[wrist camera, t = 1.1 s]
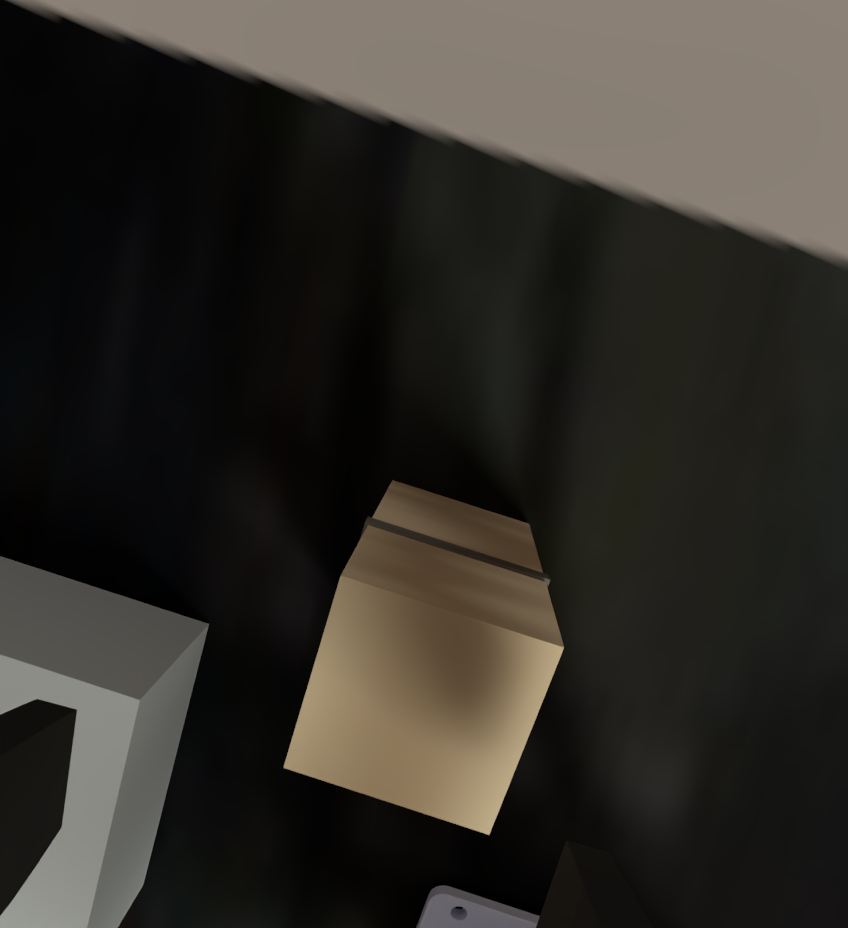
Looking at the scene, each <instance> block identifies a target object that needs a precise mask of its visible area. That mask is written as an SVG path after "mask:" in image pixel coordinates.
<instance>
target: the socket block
mask: <svg viewBox="0 0 848 928" xmlns="http://www.w3.org/2000/svg"><path fill="white" fill-rule="evenodd" d="M208 626H209V624H207V623H204V622H201V621H198V620H195V619H192V618H189V617H186V616H183V615H180V614H177V613H174V612H170V611H167V610H164V609H161V608H158V607H155V606H152V605H149V604H146V603H143V602H140V601H137V600H134V599H130V598H127V597H124V596H121V595H118V594H115V593H112V592H109V591H106V590H103V589H100V588H97V587H94V586H91V585H87V584H84V583H81V582H78V581H75V580H72V579H69V578H66V577H63V576H60V575H57V574H54V573H51V572H48V571H44V570H41V569H38V568H35V567H32V566H29V565H26V564H23V563H20V562H17V561H14V560H11V559H8V558H4V557H1V556H0V714H3V713H5V712H7V711H9V710H12V709H14V708H16V707H19V706H21V705H23V704H26V703H28V702H31V701H33V700H36V699H39V700H43V701H47V702H50V703H54V704H58V705H62V706H65V707H69V708H73V709H77V715H76V722H75V730H74V738H73V745H72V753H71V760H70V768H69V776H68V783H67V791H66V798H65V806H64V814H63V821H62V828H61V829H60V831H59V832H58V834H57V835H56V837H55V838H54V840H53V841H52V843H51V844H50V846H49V847H48V849H47V850H46V852H45V853H44V855H43V856H42V858H41V859H40V861H39V862H38V864H37V866H36V867H35V869H34V870H33V871H32V873H31V874H30V876H29V877H28V879H27V880H26V881H25V883H24V884H23V886H22V887H21V889H20V890H19V892H18V893H17V894H16V896H15V897H14V899H13V900H12V902H11V903H10V904H9V906H8V907H7V908H6V909H5V910H4V912H3V913H2V914H1V915H0V928H118V926H119V924H120V923H121V921H122V919H123V918H124V916H125V914H126V913H127V911H128V909H129V908H130V906H131V904H132V903H133V901H134V899H135V898H136V896H137V894H138V893H139V891H140V889H141V888H142V886H143V884H144V880H145V876H146V872H147V868H148V864H149V860H150V856H151V852H152V848H153V844H154V840H155V836H156V833H157V829H158V825H159V821H160V817H161V813H162V809H163V805H164V801H165V797H166V793H167V789H168V785H169V781H170V777H171V773H172V769H173V765H174V761H175V757H176V753H177V749H178V745H179V741H180V737H181V733H182V729H183V725H184V722H185V718H186V714H187V710H188V706H189V702H190V698H191V694H192V690H193V686H194V682H195V678H196V674H197V670H198V666H199V662H200V658H201V654H202V650H203V646H204V642H205V638H206V634H207V630H208Z"/></svg>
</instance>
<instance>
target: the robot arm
mask: <svg viewBox="0 0 848 928" xmlns="http://www.w3.org/2000/svg"><path fill="white" fill-rule="evenodd" d="M76 715H77V709H73V708H69V707H65V706H62V705H58V704H54V703H50V702H47V701H43V700H39V699H36V700H33V701H31V702H28V703H26V704H23V705H21V706H19V707H16V708H14V709H12V710H9V711H7V712H5V713H3V714H0V915H1V914H2V913H3V912H4V910H5V909H6V908H7V907H8V906H9V904H10V903H11V902H12V900H13V899H14V897H15V896H16V894H17V893H18V892H19V890H20V889H21V887H22V886H23V884H24V883H25V881H26V880H27V879H28V877H29V876H30V874H31V873H32V871H33V870H34V869H35V867H36V866H37V864H38V862H39V861H40V859H41V858H42V856H43V855H44V853H45V852H46V850H47V849H48V847H49V846H50V844H51V843H52V841H53V840H54V838H55V837H56V835H57V834H58V832H59V831H60V829H61V828H62V821H63V814H64V806H65V798H66V791H67V783H68V776H69V768H70V760H71V753H72V745H73V738H74V730H75V722H76ZM457 906H459V907H463V909H456V908H455V907H457ZM416 928H654V927H653V925H652V924H651V922H650V920H649V919H648V917H647V915H646V914H645V912H644V910H643V909H642V907H641V905H640V903H639V902H638V900H637V898H636V897H635V895H634V893H633V892H632V890H631V888H630V887H629V885H628V883H627V881H626V880H625V878H624V876H623V875H622V873H621V871H620V870H619V868H618V866H617V865H616V863H615V861H614V860H613V858H612V856H611V855H610V853H609V852H608V851H604V850H600V849H596V848H593V847H589V846H585V845H581V844H578V843H574V842H570V841H567V840H566V842H565V845H564V848H563V851H562V854H561V857H560V859H559V862H558V865H557V868H556V871H555V874H554V877H553V880H552V883H551V885H550V888H549V891H548V894H547V897H546V900H545V903H544V906H543V908H542V911H541V914H540V916H538V915H535V914H532V913H529V912H526V911H523V910H519V909H516V908H513V907H510V906H507V905H504V904H501V903H498V902H495V901H492V900H489V899H486V898H483V897H480V896H477V895H474V894H471V893H468V892H465V891H462V890H459V889H456V888H453V887H450V886H444V885H442V886H437V887H435V888H433V889H432V890H431V892H430V893H429V895H428V898H427V901H426V903H425V906H424V908H423V911H422V914H421V916H420V919H419V922H418V924H417V927H416Z"/></svg>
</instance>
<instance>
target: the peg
mask: <svg viewBox="0 0 848 928" xmlns="http://www.w3.org/2000/svg"><path fill="white" fill-rule="evenodd" d="M549 582H550V577H549V575H548V574H545V573H543V572H542V568H541V565H540V561H539V558H538V554H537V550H536V547H535V543H534V540H533V536H532V533H531V529H530V526H529V524H528V523H525V522H522V521H519V520H515V519H512V518H509V517H506V516H503V515H500V514H497V513H494V512H491V511H487V510H484V509H481V508H478V507H475V506H472V505H469V504H466V503H463V502H459V501H456V500H453V499H450V498H447V497H444V496H441V495H438V494H434V493H431V492H428V491H425V490H422V489H419V488H416V487H413V486H410V485H406V484H403V483H400V482H397V481H394V480H392V482H391V484H390V486H389V487H388V489H387V491H386V493H385V495H384V497H383V499H382V500H381V502H380V504H379V506H378V508H377V510H376V511H375V513H374V515H373V517H372V518H371V517H367V519H366V521H365V524H364V528H363V531H362V534H361V538H360V541H359V543H358V545H357V546H356V548H355V550H354V552H353V554H352V556H351V558H350V559H349V561H348V563H347V565H346V567H345V569H344V570H343V572H342V574H341V576H340V580H339V583H338V586H337V590H336V593H335V596H334V600H333V603H332V606H331V610H330V613H329V617H328V620H327V623H326V627H325V630H324V633H323V637H322V640H321V643H320V647H319V650H318V653H317V657H316V660H315V663H314V667H313V670H312V673H311V677H310V680H309V683H308V687H307V690H306V693H305V697H304V700H303V704H302V707H301V710H300V714H299V717H298V720H297V724H296V727H295V730H294V734H293V737H292V740H291V744H290V747H289V750H288V754H287V757H286V760H285V764H284V767H283V768H286V769H289V770H292V771H295V772H298V773H301V774H304V775H307V776H310V777H313V778H316V779H319V780H322V781H325V782H329V783H332V784H335V785H338V786H341V787H344V788H347V789H350V790H353V791H356V792H359V793H362V794H365V795H368V796H371V797H374V798H377V799H381V800H384V801H387V802H390V803H393V804H396V805H399V806H402V807H405V808H408V809H411V810H414V811H417V812H420V813H423V814H426V815H430V816H433V817H436V818H439V819H442V820H445V821H448V822H451V823H454V824H457V825H460V826H463V827H466V828H469V829H472V830H475V831H479V832H482V833H485V834H488V835H489V834H490V832H491V829H492V827H493V824H494V822H495V819H496V817H497V814H498V812H499V809H500V807H501V804H502V802H503V799H504V797H505V794H506V792H507V789H508V787H509V784H510V782H511V779H512V777H513V774H514V772H515V769H516V767H517V764H518V762H519V759H520V757H521V754H522V752H523V749H524V747H525V744H526V742H527V739H528V737H529V734H530V732H531V729H532V727H533V724H534V722H535V719H536V717H537V714H538V712H539V709H540V707H541V704H542V702H543V699H544V697H545V694H546V692H547V689H548V687H549V684H550V682H551V679H552V677H553V674H554V672H555V669H556V667H557V664H558V662H559V659H560V657H561V654H562V652H563V649H564V646H563V642H562V639H561V635H560V632H559V628H558V624H557V621H556V617H555V614H554V610H553V607H552V603H551V600H550V596H549V593H548V589H547V587H548V585H549Z"/></svg>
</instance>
